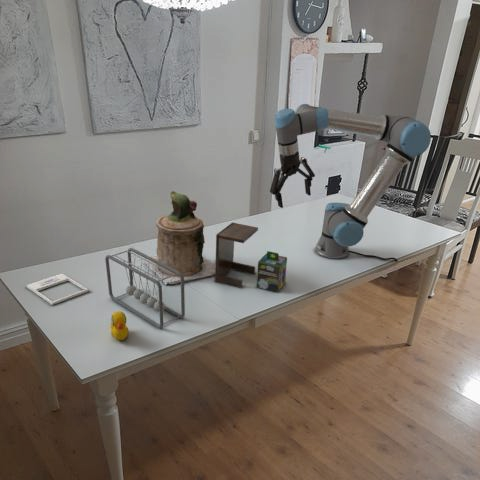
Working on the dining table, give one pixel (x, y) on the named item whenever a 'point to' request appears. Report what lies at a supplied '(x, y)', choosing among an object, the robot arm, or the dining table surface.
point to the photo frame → (51, 282)
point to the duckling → (119, 326)
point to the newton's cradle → (140, 294)
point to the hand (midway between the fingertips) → (294, 200)
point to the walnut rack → (231, 252)
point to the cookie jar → (181, 243)
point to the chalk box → (271, 271)
